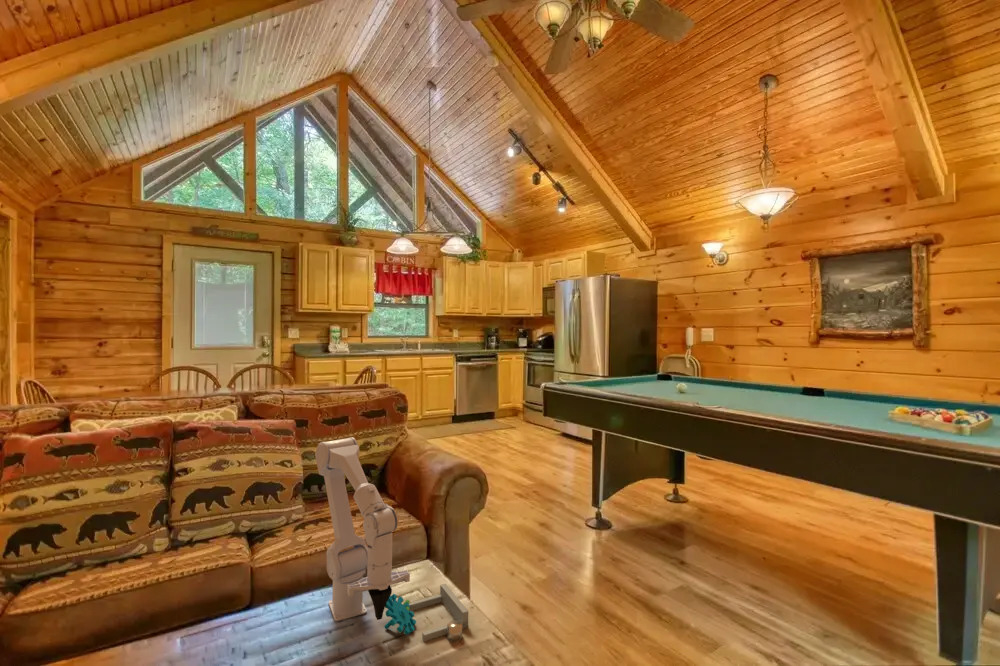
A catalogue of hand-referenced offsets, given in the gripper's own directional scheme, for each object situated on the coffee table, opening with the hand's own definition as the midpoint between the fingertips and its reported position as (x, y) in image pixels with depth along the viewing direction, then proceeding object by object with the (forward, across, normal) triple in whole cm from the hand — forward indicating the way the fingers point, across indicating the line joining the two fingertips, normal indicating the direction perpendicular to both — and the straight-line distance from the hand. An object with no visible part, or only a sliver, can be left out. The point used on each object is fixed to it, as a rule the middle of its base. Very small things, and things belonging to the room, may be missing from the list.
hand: (378, 617), depth 114 cm
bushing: (+4, +16, -9) cm, 19 cm away
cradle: (+4, +14, 0) cm, 15 cm away
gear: (+5, +6, 0) cm, 7 cm away
